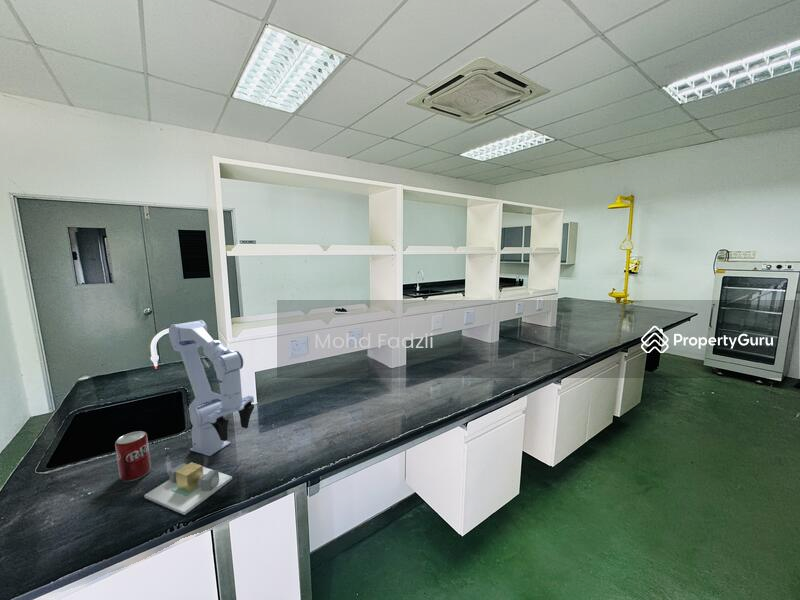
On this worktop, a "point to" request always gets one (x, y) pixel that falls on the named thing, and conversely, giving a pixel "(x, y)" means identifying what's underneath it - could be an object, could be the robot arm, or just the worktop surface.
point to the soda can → (133, 456)
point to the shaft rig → (184, 500)
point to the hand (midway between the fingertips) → (234, 433)
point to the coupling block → (189, 477)
